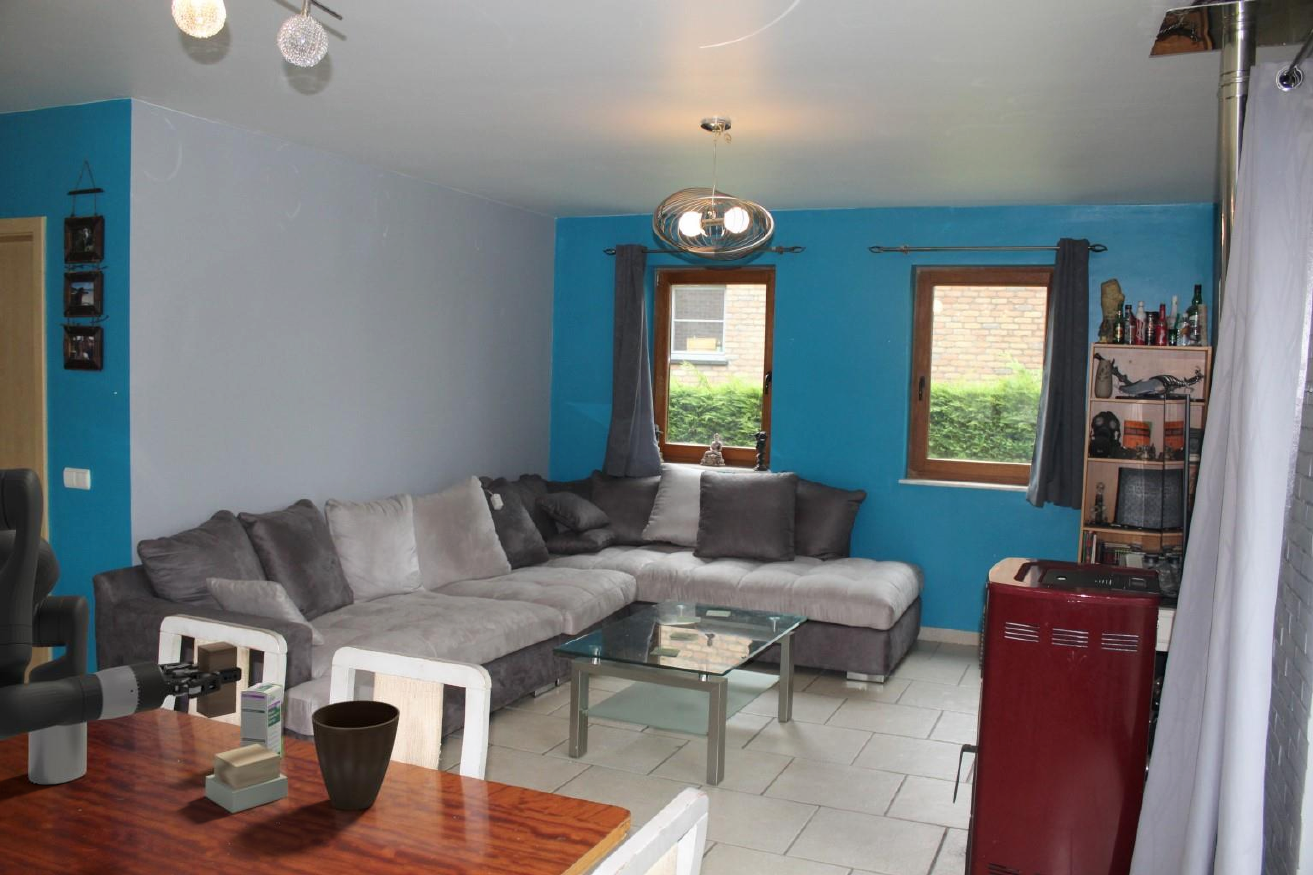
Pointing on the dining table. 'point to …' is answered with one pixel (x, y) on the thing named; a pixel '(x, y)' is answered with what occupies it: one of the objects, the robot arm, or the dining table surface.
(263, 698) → the syrup box
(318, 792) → the dining table surface
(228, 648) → the walnut block
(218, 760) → the tower top
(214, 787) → the tower base
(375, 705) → the plant pot
